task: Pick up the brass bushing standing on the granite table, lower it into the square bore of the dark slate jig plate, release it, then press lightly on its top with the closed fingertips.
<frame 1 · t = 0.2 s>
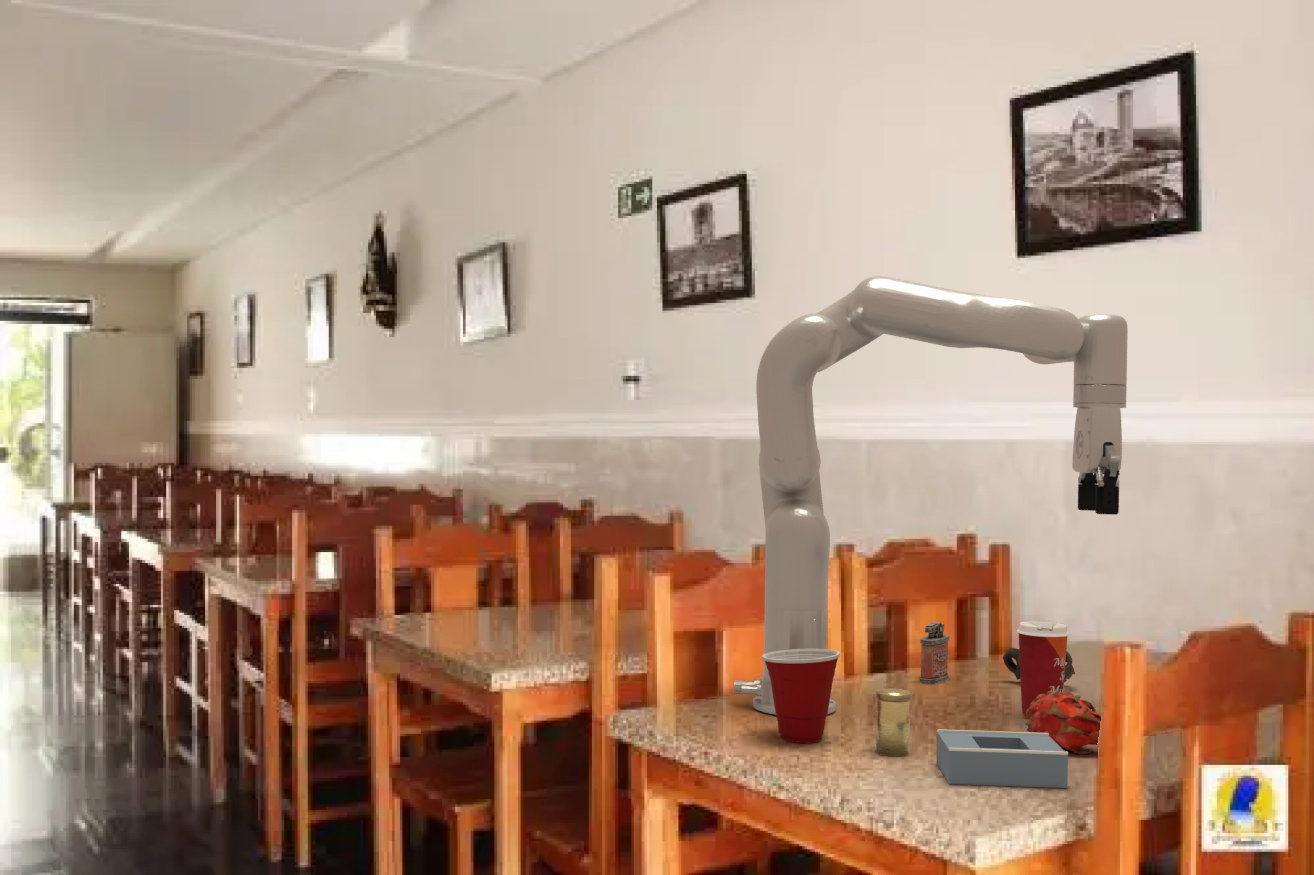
hand: (1097, 512, 192), 31 cm above the table, fingers open, 9 cm apart
bushing: (892, 752, 169), on the table
jig: (999, 775, 159), on the table
lighter: (934, 681, 220), on the table
plastic cup: (799, 739, 176), on the table
paper cup: (1041, 718, 193), on the table
dragon fruit: (1067, 751, 173), on the table
pottery mug: (1037, 687, 217), on the table
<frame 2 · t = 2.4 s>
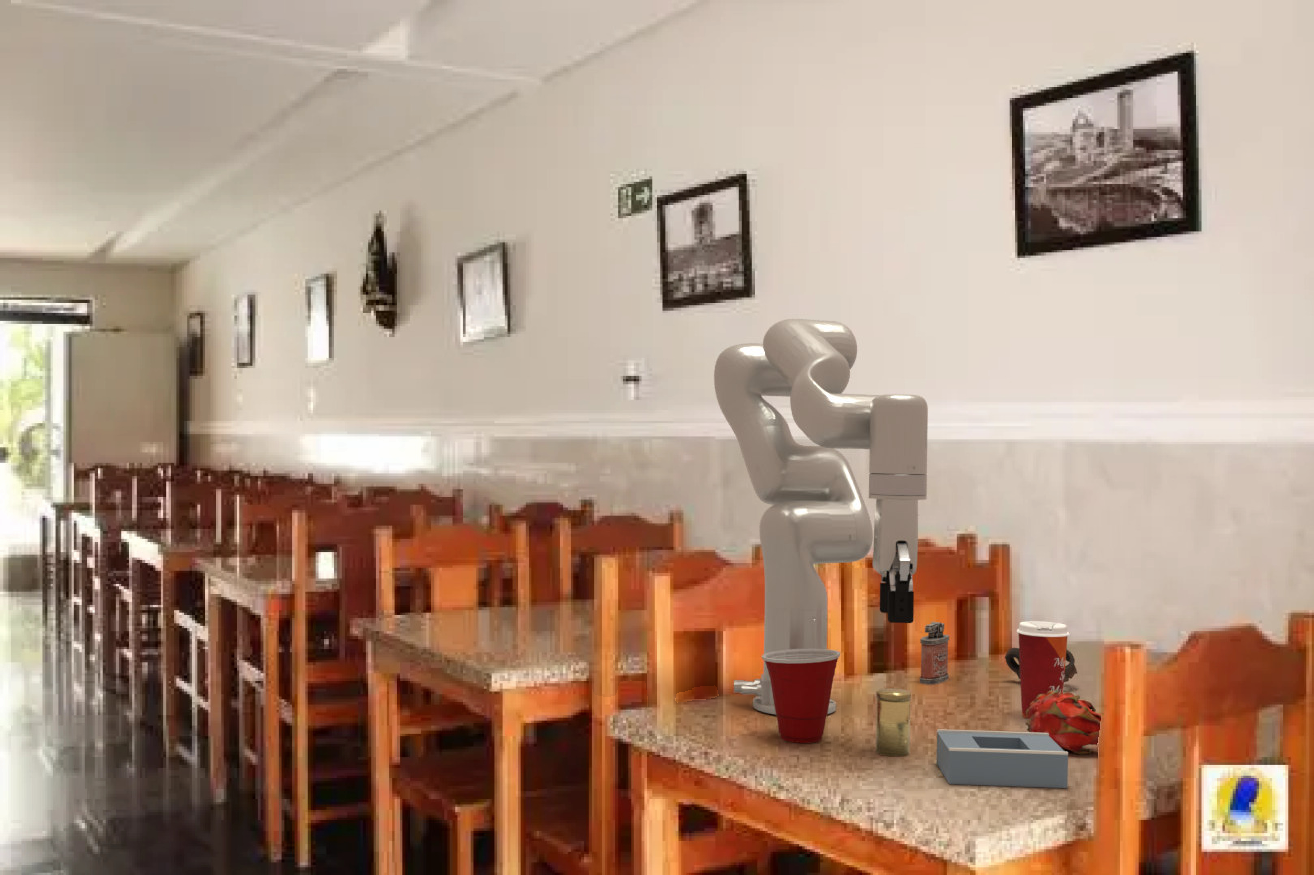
hand: (896, 617, 169), 18 cm above the table, fingers open, 9 cm apart
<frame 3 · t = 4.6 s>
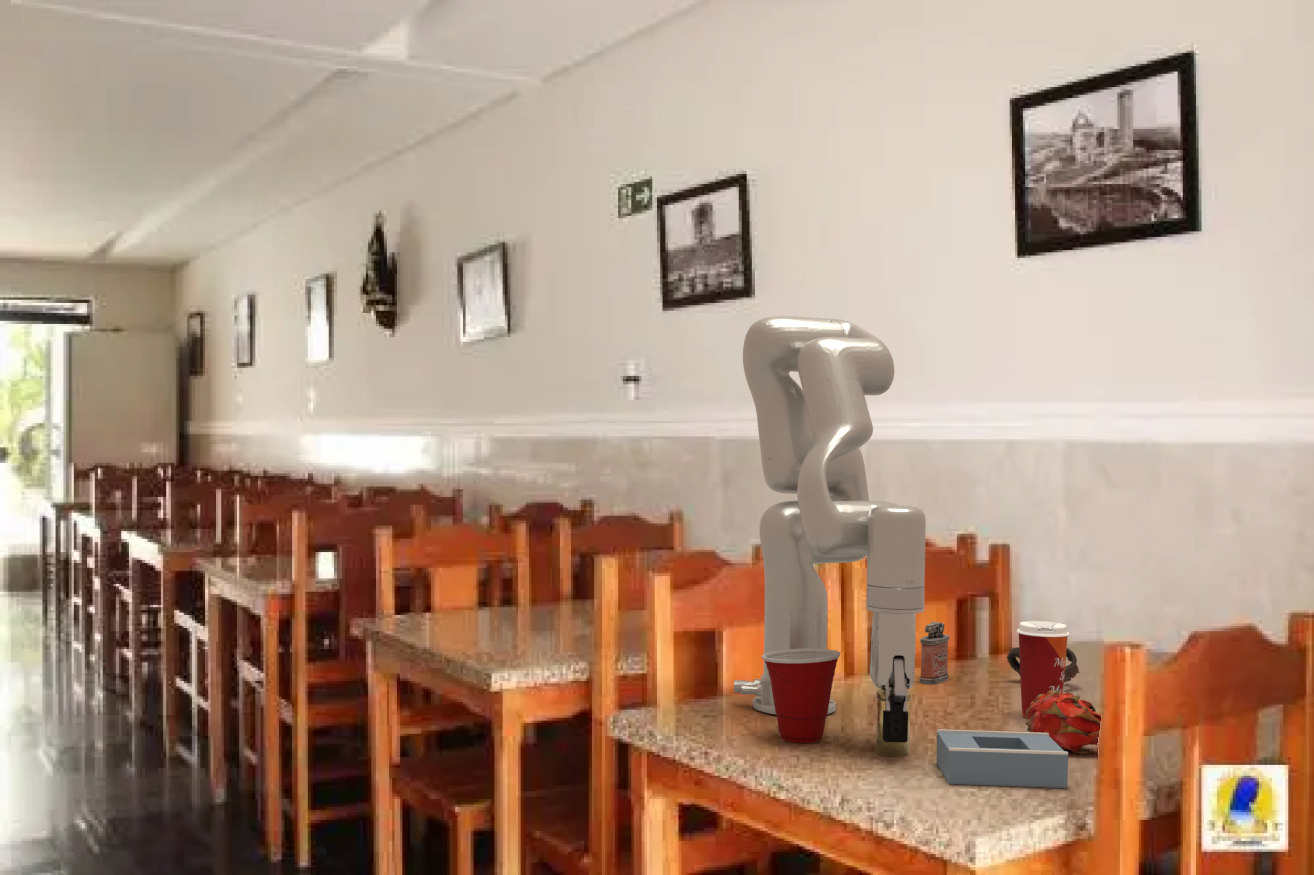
hand: (892, 735, 169), 2 cm above the table, fingers closed on bushing, 4 cm apart
bushing: (892, 752, 169), on the table, touching gripper
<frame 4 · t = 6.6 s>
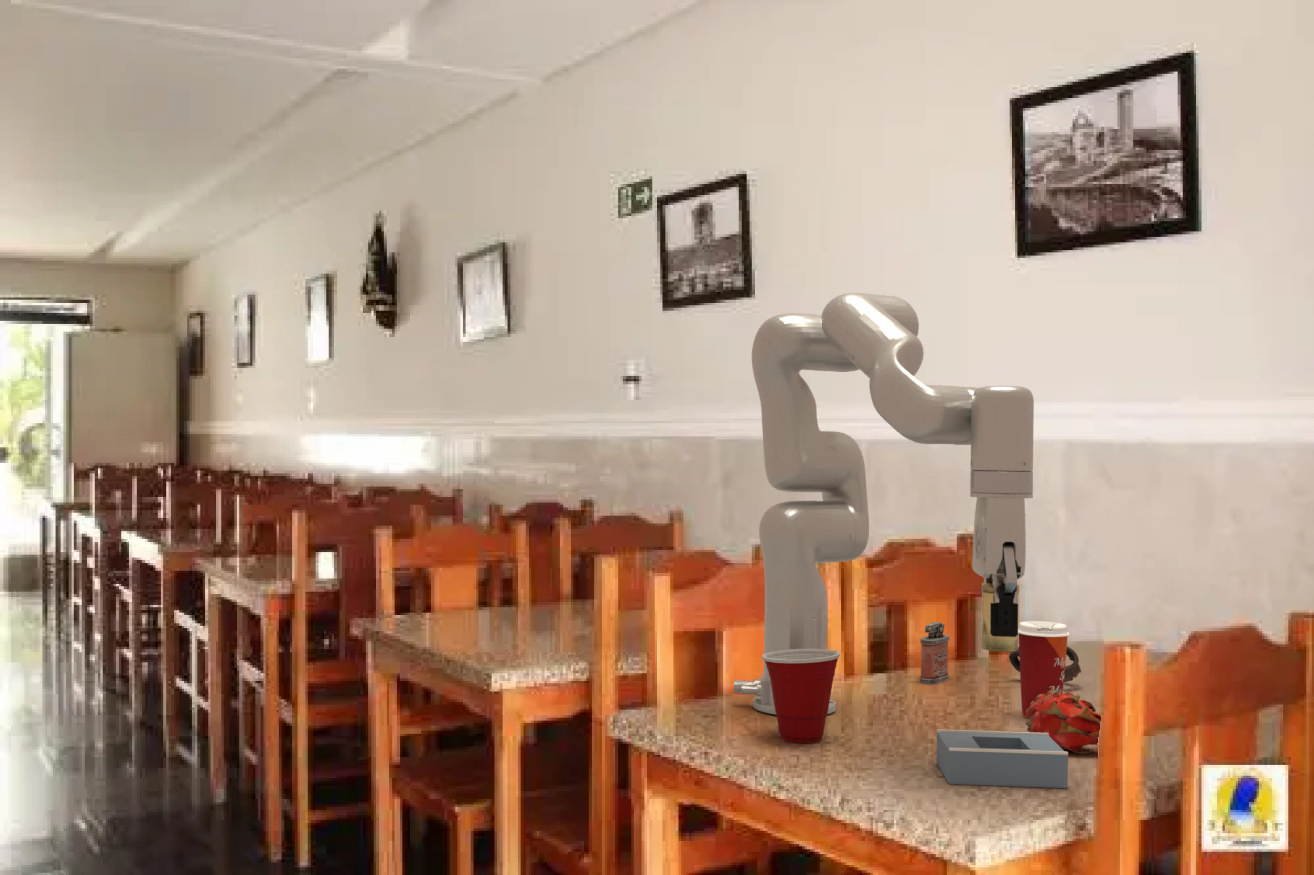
hand: (999, 631, 159), 18 cm above the table, fingers closed on bushing, 4 cm apart
bushing: (999, 648, 159), point 16 cm above the table, touching gripper
when the fingers open (5 cm above the table, at t = 9.0 s): bushing drops 2 cm, resting in jig.
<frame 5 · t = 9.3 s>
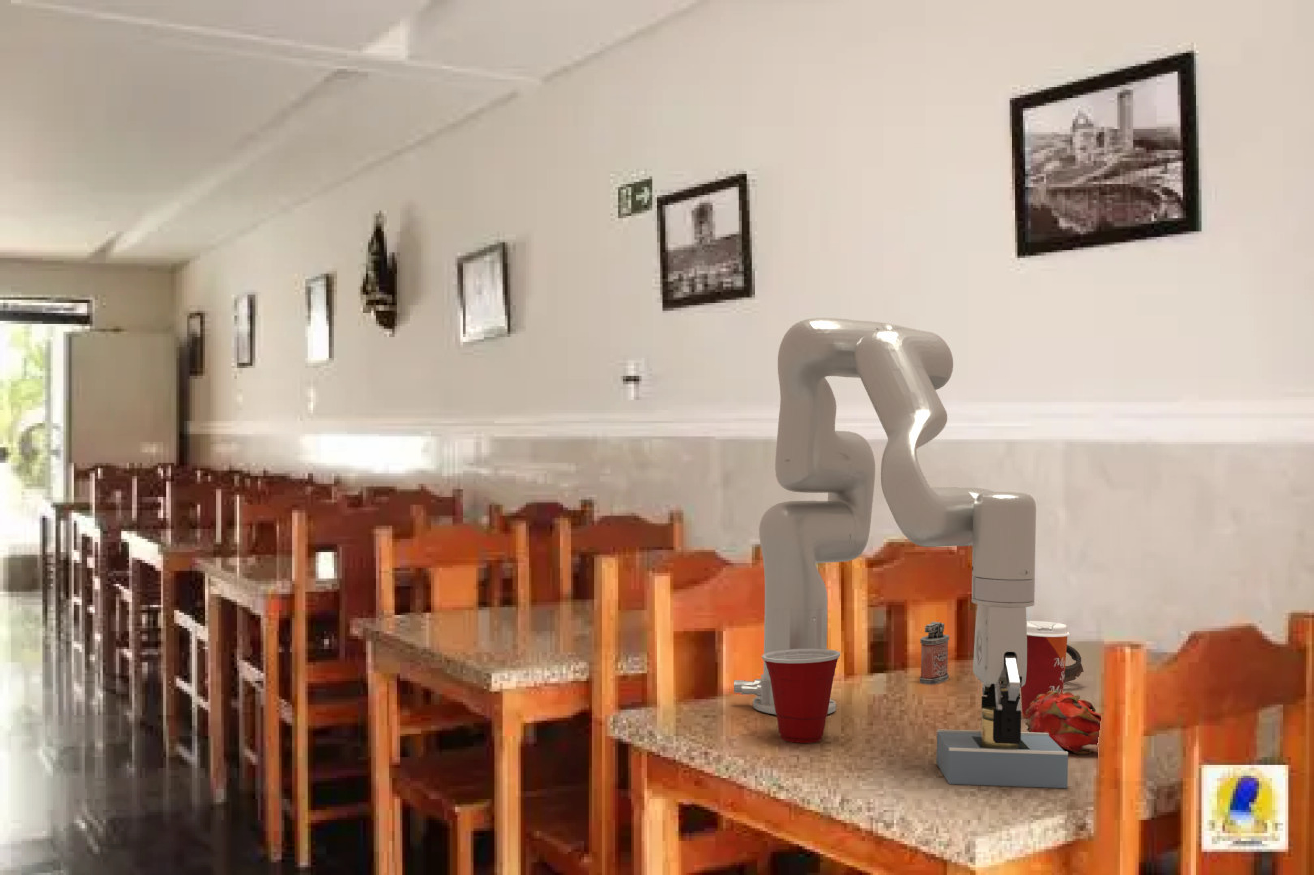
hand: (1000, 734, 159), 5 cm above the table, fingers open, 7 cm apart
bushing: (999, 774, 159), resting in jig
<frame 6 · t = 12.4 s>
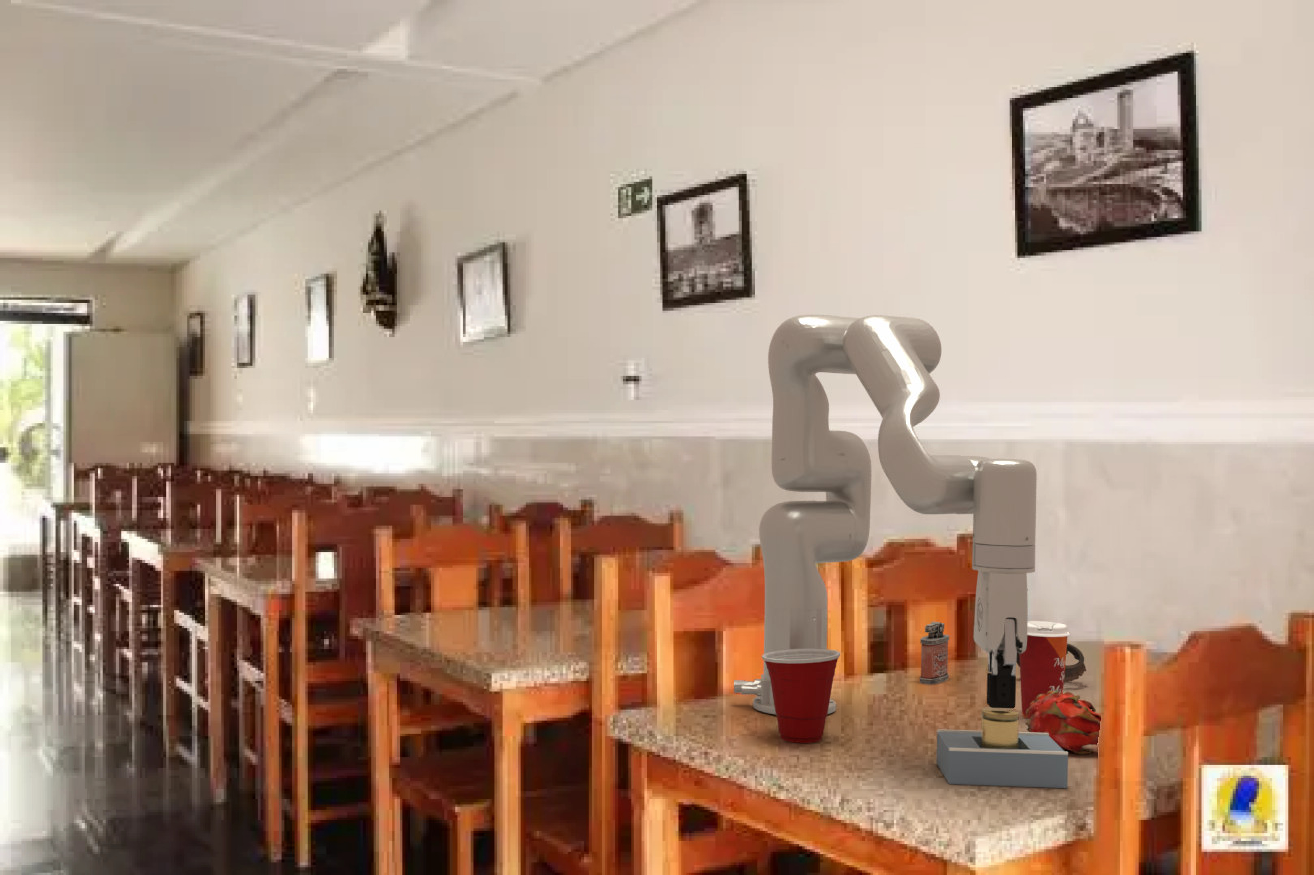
hand: (1000, 706, 159), 9 cm above the table, fingers closed
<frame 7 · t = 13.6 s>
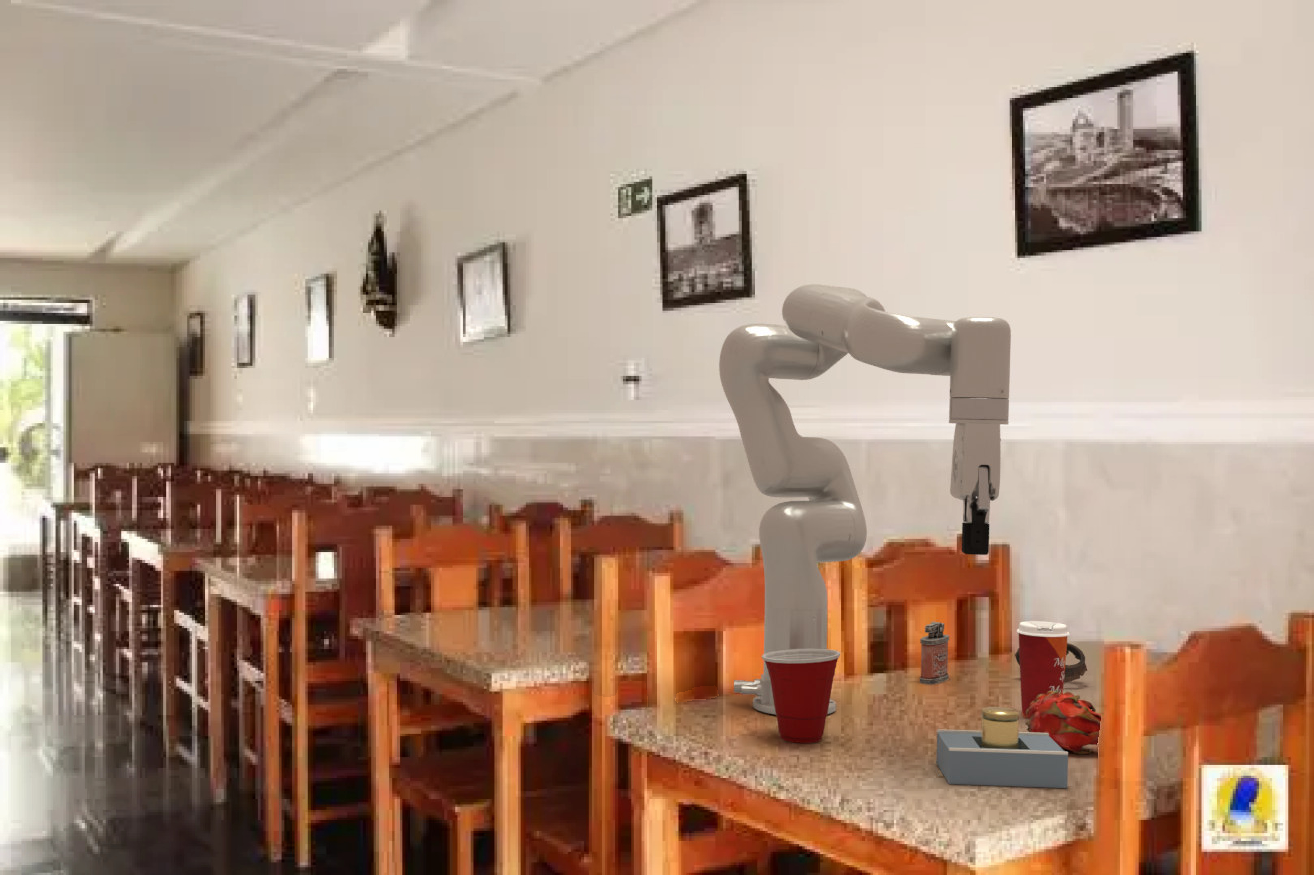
hand: (975, 553, 167), 27 cm above the table, fingers closed
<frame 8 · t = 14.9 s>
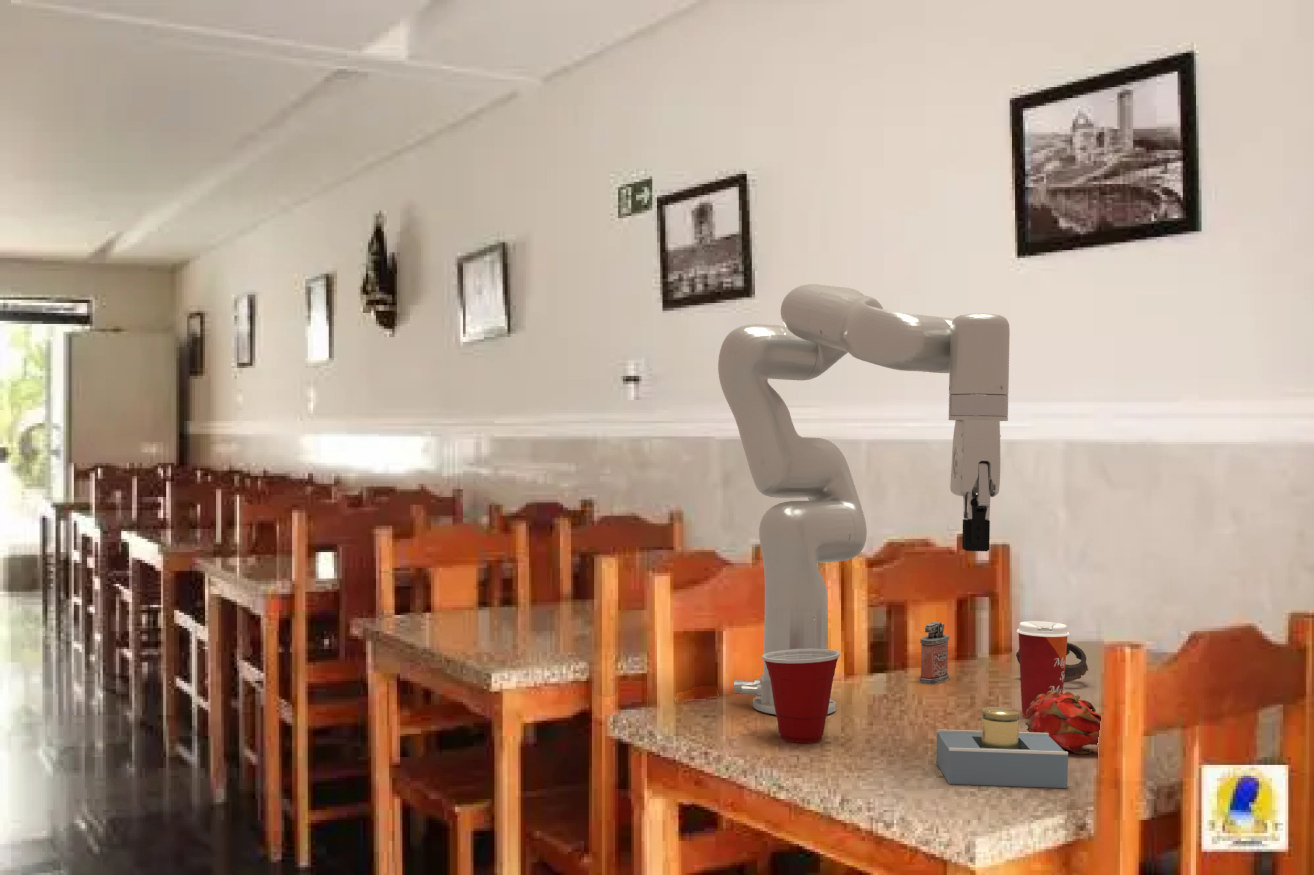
hand: (975, 550, 167), 27 cm above the table, fingers closed
at the end: bushing 0.1 cm off-centre on the jig, point 0.0 cm above the jig's base; bushing tilted 0°; the gripper is holding nothing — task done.
